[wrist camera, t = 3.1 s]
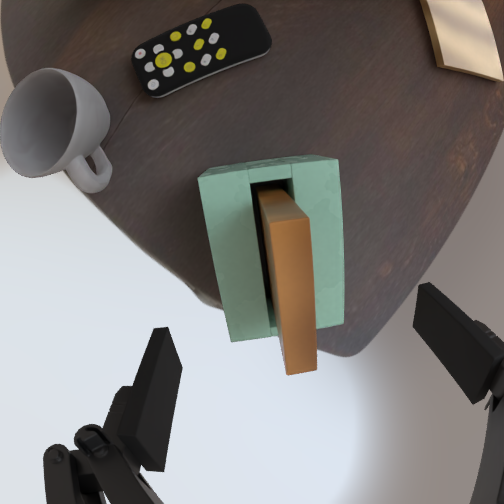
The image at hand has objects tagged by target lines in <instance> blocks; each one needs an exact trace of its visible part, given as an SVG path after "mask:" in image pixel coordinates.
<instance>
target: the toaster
mask: <svg viewBox="0 0 504 504" xmlns="http://www.w3.org/2000/svg"><path fill="white" fill-rule="evenodd" d="M198 184H199V189H200V195H201V200H202V206H203V211H204V217H205V222H206V227H207V232H208V237H209V242H210V247H211V252H212V257H213V262H214V267H215V272H216V276H217V281H218V286H219V290H220V295H221V300H222V304H223V309H224V313H225V318H226V322H227V326H228V330H229V335H230V339H231V342H237V341H244V340H252V339H258V338H265V337H271V336H278V330H277V325H276V321H275V316H274V311H273V306H272V301H271V296H270V291H269V285H268V278H267V270H266V263H265V256H264V248H263V241H262V234H261V227H260V219H259V212H258V205H257V198H256V191H255V187H256V186H262V185H269V184H278V185H279V186H280V187H281V188H282V189H283V190H284V191H285V192H286V193H287V194H288V195H289V196H290V197H291V198H292V199H293V201H294V202H295V203H296V204H297V205H298V206H299V207H300V208H301V209H302V210H303V211H304V212H305V214H306V215H307V216H308V217H309V218H310V228H311V241H312V255H313V270H314V287H315V309H316V329H319V328H325V327H330V326H335V325H340V324H344V245H343V221H342V203H341V189H340V176H339V165H338V159H333V158H328V157H323V156H318V155H312V154H309V155H299V156H290V157H281V158H273V159H265V160H258V161H251V162H245V163H237V164H231V165H225V166H218V167H213V168H208V169H207V170H206V171H205V172H204V173H203V174H202V175H200V176H199V177H198Z"/></svg>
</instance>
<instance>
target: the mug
mask: <svg viewBox="0 0 504 504" xmlns="http://www.w3.org/2000/svg"><path fill="white" fill-rule="evenodd" d="M109 127H110V113H109V110H108V108H107V106H106V103H105V101H104V99H103V97H102V96H101V94H100V93H99V92H98V91H97V90H96V89H95V87H93V86H92V85H91V84H90V83H89V82H87V81H86V80H84V79H82V78H81V77H79V76H77V75H75V74H72V73H70V72H67V71H64V70H61V69H56V68H43V69H40V70H37V71H35V72H33V73H31V74H29V75H28V76H27V77H25V78H24V79H23V80H22V81H21V82H20V83H19V84H18V85H17V86H16V87H15V89H14V90H13V91H12V93H11V95H10V96H9V98H8V100H7V102H6V104H5V107H4V110H3V114H2V117H1V123H0V143H1V148H2V152H3V155H4V157H5V159H6V161H7V163H8V164H9V165H10V167H11V168H12V169H13V170H14V171H15V172H17V173H18V174H20V175H22V176H25V177H29V178H36V177H43V176H47V175H51V174H54V173H57V172H59V171H62V170H66V171H67V173H68V174H69V176H70V177H71V179H72V181H73V182H74V184H75V185H76V186H77V187H78V188H79V189H80V190H82V191H83V192H86V193H96V192H100V191H102V190H103V189H104V188H105V187H106V186H107V185H108V183H109V181H110V177H111V174H112V165H111V163H110V162H109V160H108V158H107V157H106V155H105V153H104V151H103V150H102V148H101V147H100V143H101V141H102V140H103V139H104V138H105V136H106V135H107V133H108V130H109ZM89 155H91V157H92V158H93V160H94V162H95V165H96V173H97V175H96V174H95V173H93V172H92V171H91V169H90V167H89V166H88V164H87V162H86V160H85V158H86V157H87V156H89Z"/></svg>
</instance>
